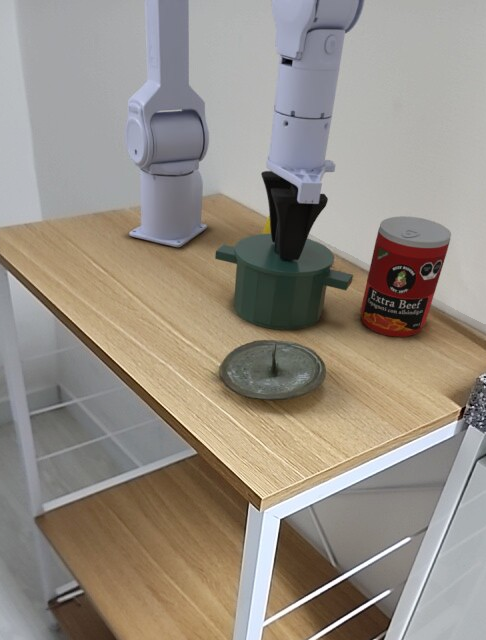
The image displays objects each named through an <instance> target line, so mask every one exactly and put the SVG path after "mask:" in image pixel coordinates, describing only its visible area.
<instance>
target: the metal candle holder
mask: <svg viewBox="0 0 486 640" xmlns="http://www.w3.org/2000/svg"><path fill="white" fill-rule="evenodd" d="M326 373H327V367H326V364H325V361H324V360H323V359H322V358H321V356H320V355H318V353H317V352H316V351H315V350H313V349H312V348H310V347H308V346H306V345H302V344H300V343H297V342H293V341H284V340H279V339H278V340H277V339H276V340H273V339H271V340H270V339H259V340H258V339H257V340H253V341H250V342H247V343H244V344H241V345H240V346H237V347H235V348H234V349H233V350H232V351H230V352H229V353H227V355H226V356H225V358H223V360H222V361H221V363H220V365H219V368H218V377H219V378H220V380H221V382H222V383H223V385H224V386H225V387H226V388H227V389H229V390H230V391H232V392H233V393H235V394H237V395H238V396H242V397H243V398H246V399H249V400H250V399H251V400H257V401H264V402H282V401H289V400H294V399H297V398H300V397H302V396H305V395H308V394H311V393H312V392H314V391H315V390H317V389H318V388H319V387H320V386H321V385H322V384H323V383H324V381H325V379H326V375H327V374H326Z"/></svg>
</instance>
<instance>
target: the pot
mask: <svg viewBox="0 0 486 640" xmlns="http://www.w3.org/2000/svg"><path fill="white" fill-rule="evenodd" d="M234 250H235V246H232V245H228V244H222V245H220V247H218V248H217V249H216V250H215V255H214V256H215V257H214V259H215V260H218V261H222V262H227V263H230V264H235V265H236V271H235V281H234V294H233V309H234V311H235V313H236V314H237V315H238V317H240V318H241V319H243V320H245V322H248V323H250V324H252V325H255V326H257V327H261V328H265V329H271V330H278V331H279V330H280V331H281V330H282V331H294V330H301V329H305V328H309V327H310V326H313V325H314V324H316V323H318V322H319V320H320V318H321V316H322V314H323V309H324V304H325V297H326V292H327V288H328V287H329V288H334V289H338V290H342V291H347V290H348V289H349V287H350V286H351V285H352V283H353V278H354V274H353V273H348V272H344V271H339V270H335V269H331V268H330V269H329V270H327V271H325V272H323V273H320V274H317V275H312V276H302V277H290V276H279V275H273V274H268V273H264V272H261V271H258V270H255V269H252V268H250V267H248V266H246V265H244V264H243V263H241V262H240V261H239V260H238V259H237V258H236V256H235V253H234Z"/></svg>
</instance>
